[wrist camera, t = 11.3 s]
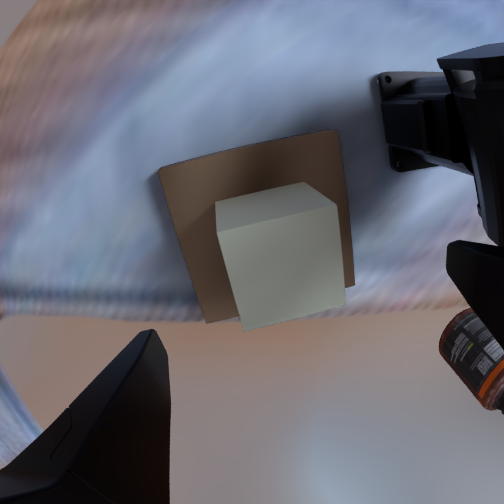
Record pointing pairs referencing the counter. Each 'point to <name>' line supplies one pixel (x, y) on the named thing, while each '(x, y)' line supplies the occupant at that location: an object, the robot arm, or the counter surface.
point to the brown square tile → (241, 183)
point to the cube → (281, 253)
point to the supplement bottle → (475, 358)
